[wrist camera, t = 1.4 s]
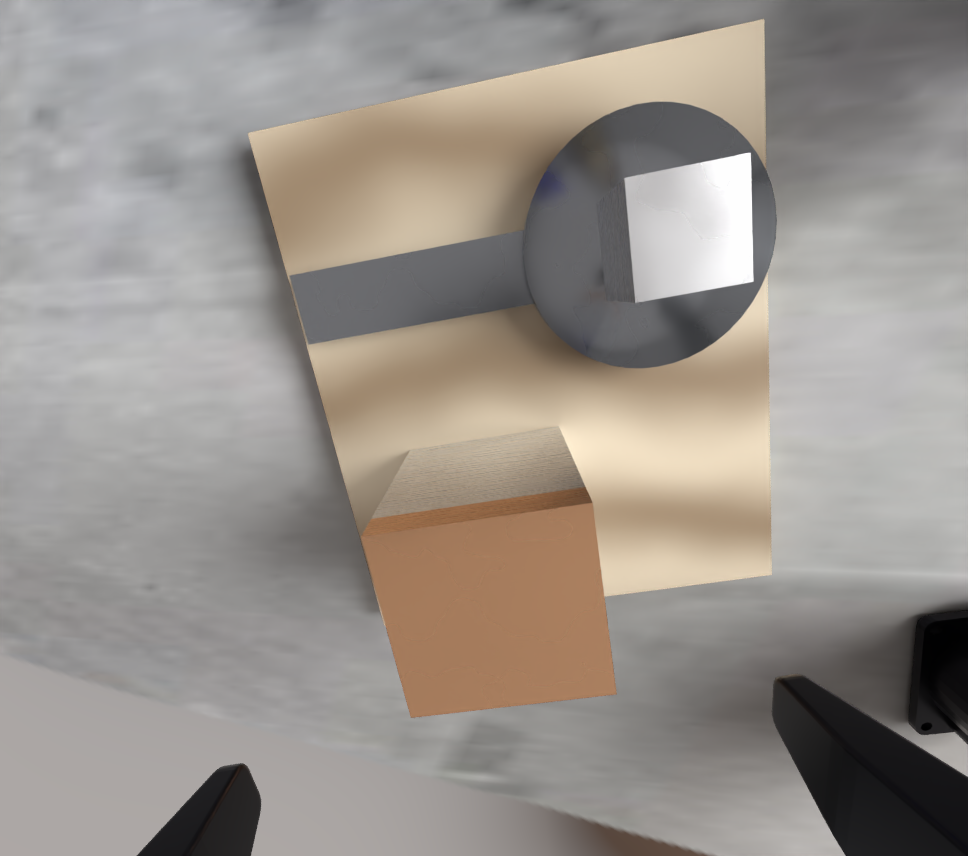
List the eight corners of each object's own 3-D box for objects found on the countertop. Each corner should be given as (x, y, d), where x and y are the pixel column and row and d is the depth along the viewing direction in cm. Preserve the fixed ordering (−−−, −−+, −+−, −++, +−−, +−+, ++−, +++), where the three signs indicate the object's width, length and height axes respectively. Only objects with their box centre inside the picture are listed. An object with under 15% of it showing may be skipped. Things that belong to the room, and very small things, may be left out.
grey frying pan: (754, 342, 17) (852, 361, 13) (337, 412, 19) (281, 454, 14) (749, 95, 15) (864, 4, 10) (278, 193, 16) (187, 153, 12)
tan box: (577, 559, 20) (616, 694, 13) (440, 578, 21) (411, 717, 14) (558, 426, 18) (592, 502, 12) (410, 450, 19) (360, 536, 12)
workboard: (759, 561, 21) (771, 574, 20) (389, 611, 22) (383, 625, 21) (747, 35, 16) (764, 18, 15) (261, 142, 17) (247, 132, 16)
